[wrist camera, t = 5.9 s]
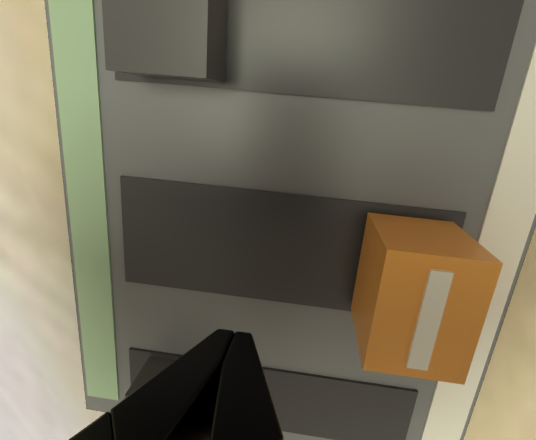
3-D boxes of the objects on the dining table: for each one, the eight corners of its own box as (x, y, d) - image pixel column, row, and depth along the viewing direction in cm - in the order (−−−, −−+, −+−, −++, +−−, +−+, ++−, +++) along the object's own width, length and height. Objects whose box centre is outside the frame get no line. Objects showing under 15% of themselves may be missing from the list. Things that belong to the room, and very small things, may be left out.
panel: (574, -12, 12) (716, -74, 8) (438, 432, 19) (476, 529, 14) (75, -40, 14) (-31, -105, 9) (107, 380, 20) (52, 454, 16)
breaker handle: (453, 221, 13) (505, 265, 9) (428, 318, 14) (465, 387, 11) (367, 212, 13) (387, 251, 10) (350, 308, 14) (363, 372, 11)
